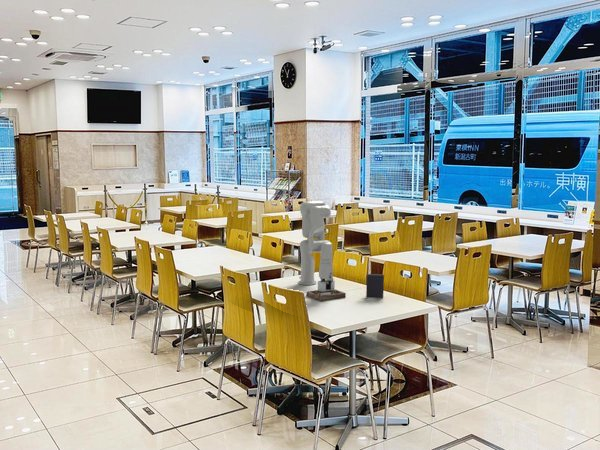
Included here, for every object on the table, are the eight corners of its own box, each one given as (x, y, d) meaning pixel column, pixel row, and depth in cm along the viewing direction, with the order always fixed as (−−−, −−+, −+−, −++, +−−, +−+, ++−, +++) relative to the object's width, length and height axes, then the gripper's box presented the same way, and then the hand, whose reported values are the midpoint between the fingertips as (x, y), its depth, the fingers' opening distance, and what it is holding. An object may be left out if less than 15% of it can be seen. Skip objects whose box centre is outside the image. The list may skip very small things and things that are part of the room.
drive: (317, 290, 378) (317, 281, 377) (329, 288, 384) (329, 279, 383) (322, 291, 374) (322, 282, 373) (334, 289, 380) (334, 280, 379)
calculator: (383, 296, 381) (383, 274, 379) (383, 298, 377) (383, 275, 375) (366, 296, 382) (366, 273, 380) (366, 297, 378) (366, 275, 376)
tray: (306, 296, 381) (306, 290, 380) (331, 292, 391) (331, 286, 391) (320, 301, 367) (320, 295, 367) (345, 297, 378) (345, 291, 378)
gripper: (314, 259, 382) (314, 286, 384) (329, 263, 367) (328, 292, 369) (323, 258, 386) (323, 285, 388) (338, 262, 371) (338, 290, 373)
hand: (326, 288), depth 379 cm, fingers closed on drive, 5 cm apart
